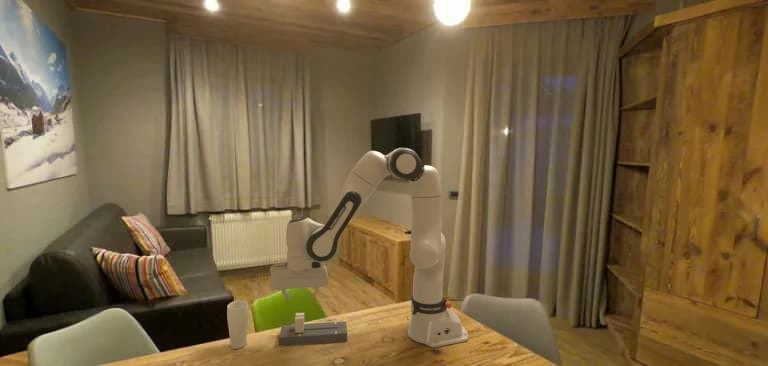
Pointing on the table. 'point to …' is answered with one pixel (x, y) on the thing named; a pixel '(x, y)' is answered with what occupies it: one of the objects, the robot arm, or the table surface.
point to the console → (313, 333)
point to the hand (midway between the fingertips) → (300, 299)
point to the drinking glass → (237, 323)
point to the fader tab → (299, 322)
